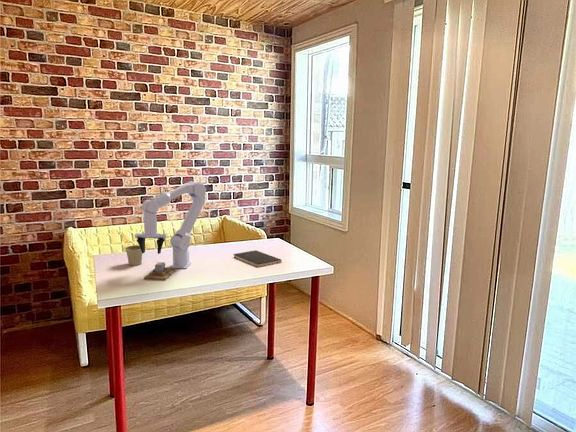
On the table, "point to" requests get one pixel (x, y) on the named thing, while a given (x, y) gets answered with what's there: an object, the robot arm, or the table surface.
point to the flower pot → (134, 255)
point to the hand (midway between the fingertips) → (151, 252)
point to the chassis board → (159, 274)
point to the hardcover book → (257, 258)
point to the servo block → (160, 267)
